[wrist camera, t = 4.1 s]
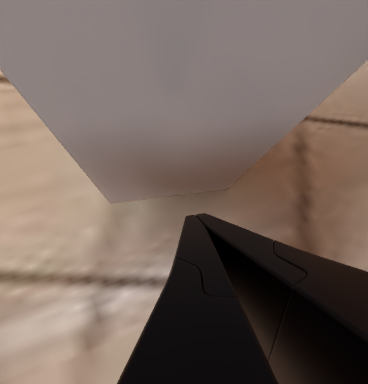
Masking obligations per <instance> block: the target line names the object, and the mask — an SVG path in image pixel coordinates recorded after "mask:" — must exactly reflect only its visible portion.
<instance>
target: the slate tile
mask: <svg viewBox="0 0 368 384" xmlns="http://www.w3.org/2000/svg"><path fill="white" fill-rule="evenodd" d="M367 60H368V0H0V70H1V71H2V72H3V74H4V75H5V76H6V77H7V79H8V80H9V81H10V82H11V83H12V85H13V86H14V87H15V88H16V89H17V91H18V92H19V93H20V94H21V96H22V97H23V98H24V99H25V100H26V102H27V103H28V104H29V105H30V107H31V108H32V109H33V110H34V111H35V113H36V114H37V115H38V116H39V117H40V119H41V120H42V121H43V122H44V124H45V125H46V126H47V127H48V128H49V130H50V131H51V132H52V133H53V135H54V136H55V137H56V138H57V139H58V141H59V142H60V143H61V144H62V145H63V147H64V148H65V149H66V150H67V152H68V153H69V154H70V155H71V156H72V158H73V159H74V160H75V161H76V162H77V164H78V165H79V166H80V167H81V169H82V170H83V171H84V172H85V173H86V175H87V176H88V177H89V178H90V180H91V181H92V182H93V183H94V184H95V186H96V187H97V188H98V189H99V190H100V192H101V193H102V194H103V195H104V197H105V198H106V199H107V200H108V201H109V203H110V204H113V203H120V202H128V201H136V200H144V199H152V198H160V197H167V196H175V195H183V194H191V193H199V192H207V191H215V190H222V189H228V188H229V187H230V186H231V185H232V184H234V183H235V182H236V181H237V180H238V179H239V178H240V177H241V176H242V175H243V174H244V173H245V172H247V171H248V170H249V169H250V168H251V167H252V166H253V165H254V164H255V163H256V162H257V161H259V160H260V159H261V158H262V157H263V156H264V155H265V154H266V153H267V152H268V151H269V150H270V149H272V148H273V147H274V146H275V145H276V144H277V143H278V142H279V141H280V140H281V139H282V138H283V137H285V136H286V135H287V134H288V133H289V132H290V131H291V130H292V129H293V128H294V127H295V126H297V125H298V124H299V123H300V122H301V121H302V120H303V119H304V118H305V117H306V116H307V115H308V114H310V113H311V112H312V111H313V110H314V109H315V108H316V107H317V106H318V105H319V104H320V103H321V102H323V101H324V100H325V99H326V98H327V97H328V96H329V95H330V94H331V93H332V92H333V91H335V90H336V89H337V88H338V87H339V86H340V85H341V84H342V83H343V82H344V81H345V80H346V79H348V78H349V77H350V76H351V75H352V74H353V73H354V72H355V71H356V70H357V69H358V68H359V67H361V66H362V65H363V64H364V63H365V62H366V61H367Z"/></svg>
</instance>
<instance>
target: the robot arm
mask: <svg viewBox="0 0 368 384" xmlns="http://www.w3.org/2000/svg"><path fill="white" fill-rule="evenodd" d="M117 384H368V272H367V271H364V270H361V269H357V268H354V267H351V266H348V265H345V264H342V263H339V262H336V261H333V260H329V259H326V258H323V257H320V256H317V255H314V254H311V253H308V252H305V251H302V250H299V249H296V248H294V247H291V246H288V245H286V244H283V243H280V242H278V241H273V240H272V239H269V238H267V237H264V236H262V235H259V234H257V233H254V232H251V231H249V230H246V229H244V228H241V227H239V226H236V225H234V224H231V223H228V222H226V221H223V220H221V219H218V218H216V217H213V216H211V215H208V214H205V213H204V214H197V215H190V216H186V217H185V221H184V225H183V229H182V232H181V236H180V240H179V244H178V248H177V251H176V255H175V259H174V262H173V265H172V268H171V271H170V275H169V277H168V279H167V282H166V284H165V286H164V288H163V290H162V292H161V294H160V297H159V299H158V301H157V303H156V305H155V307H154V309H153V311H152V313H151V315H150V317H149V319H148V321H147V323H146V325H145V327H144V329H143V331H142V333H141V335H140V337H139V339H138V342H137V344H136V346H135V348H134V350H133V352H132V354H131V356H130V358H129V360H128V362H127V364H126V366H125V368H124V370H123V372H122V374H121V376H120V378H119V380H118V382H117Z"/></svg>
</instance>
